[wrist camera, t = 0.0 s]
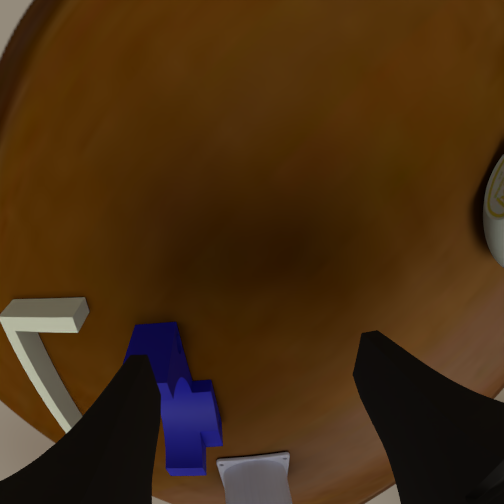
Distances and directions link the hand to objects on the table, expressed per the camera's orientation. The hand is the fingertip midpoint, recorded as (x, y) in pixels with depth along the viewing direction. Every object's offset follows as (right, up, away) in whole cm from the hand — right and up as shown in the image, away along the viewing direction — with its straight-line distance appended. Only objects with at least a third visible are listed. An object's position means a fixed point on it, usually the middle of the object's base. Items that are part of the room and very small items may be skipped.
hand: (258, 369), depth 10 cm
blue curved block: (-6, -6, +14) cm, 16 cm away
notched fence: (-15, -7, +12) cm, 21 cm away
